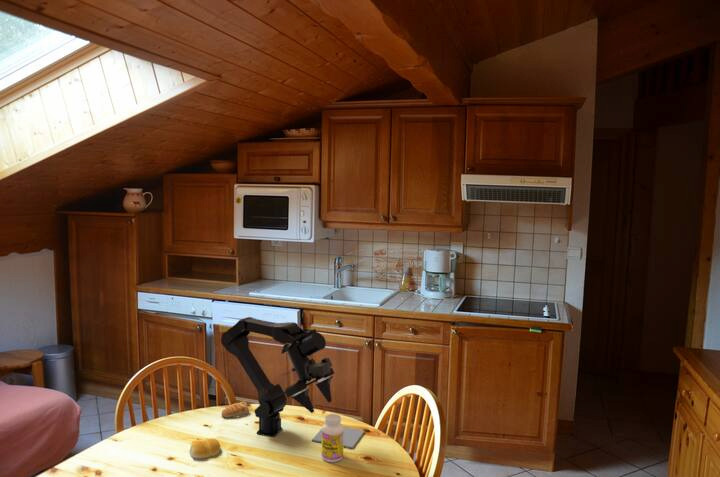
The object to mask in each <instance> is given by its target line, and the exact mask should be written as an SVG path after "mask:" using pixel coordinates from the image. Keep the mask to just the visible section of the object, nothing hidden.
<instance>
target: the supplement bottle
mask: <svg viewBox="0 0 720 477" xmlns="http://www.w3.org/2000/svg"><path fill="white" fill-rule="evenodd" d="M324 420H325V423H323V425H322V426H321V429H322V443H321V456H320V457H321V459H322V460H324V461H325V462H328V463H337V462H340V461H341V460H342V459H343V458H344V447H343V442H344V427H345V426H344V425H343V424H342V423H341V420H342V418H341V415H339V414H335V413H330V414H327V415H326V416H325V419H324Z"/></svg>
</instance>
